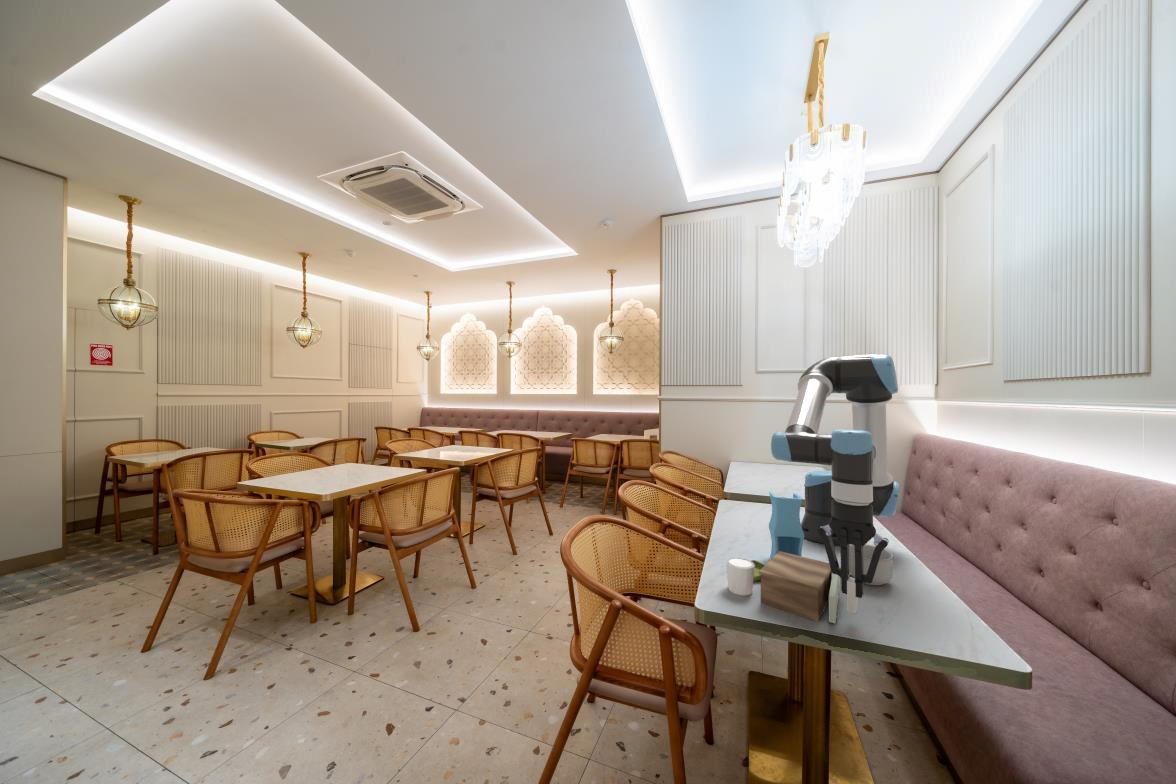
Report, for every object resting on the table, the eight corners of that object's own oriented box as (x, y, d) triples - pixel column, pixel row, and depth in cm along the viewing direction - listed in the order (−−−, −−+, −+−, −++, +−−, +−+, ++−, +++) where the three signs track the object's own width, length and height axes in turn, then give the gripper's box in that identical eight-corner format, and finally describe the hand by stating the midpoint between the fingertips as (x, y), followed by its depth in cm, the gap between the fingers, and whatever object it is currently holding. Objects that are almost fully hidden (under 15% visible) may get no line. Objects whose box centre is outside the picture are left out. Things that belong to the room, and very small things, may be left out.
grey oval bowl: (902, 591, 100) (902, 560, 100) (854, 587, 102) (854, 556, 102) (874, 568, 113) (874, 540, 114) (832, 565, 116) (832, 537, 116)
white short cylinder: (738, 581, 105) (738, 555, 105) (760, 592, 99) (760, 564, 99) (720, 587, 102) (720, 560, 102) (741, 599, 96) (741, 570, 96)
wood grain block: (779, 578, 107) (779, 551, 107) (833, 594, 98) (833, 564, 98) (759, 602, 94) (759, 571, 94) (819, 622, 86) (818, 588, 86)
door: (832, 592, 98) (832, 570, 98) (839, 594, 97) (839, 571, 97) (828, 621, 85) (828, 596, 85) (836, 623, 84) (836, 598, 85)
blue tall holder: (796, 558, 120) (796, 493, 120) (804, 569, 112) (804, 499, 113) (768, 556, 122) (768, 491, 122) (774, 566, 114) (774, 497, 115)
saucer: (730, 571, 112) (730, 563, 112) (754, 566, 115) (754, 559, 115) (754, 584, 104) (754, 576, 104) (778, 579, 107) (778, 571, 107)
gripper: (891, 503, 84) (891, 614, 84) (821, 493, 93) (822, 593, 92) (887, 510, 79) (888, 629, 78) (813, 498, 87) (814, 606, 87)
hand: (852, 610), depth 85 cm, fingers closed
